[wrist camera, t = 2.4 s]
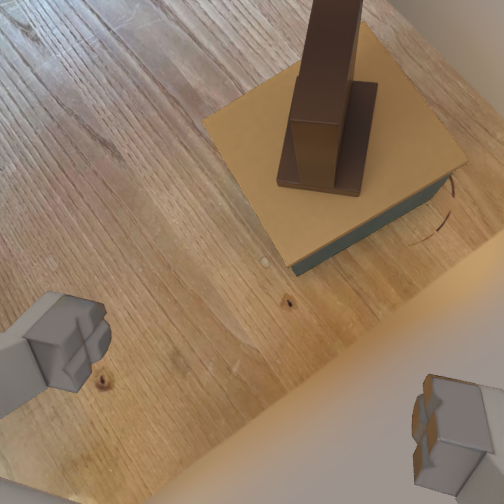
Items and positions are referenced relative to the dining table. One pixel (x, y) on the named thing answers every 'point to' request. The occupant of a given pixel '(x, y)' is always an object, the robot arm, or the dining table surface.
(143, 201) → the dining table surface
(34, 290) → the dining table surface
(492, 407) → the robot arm
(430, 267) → the dining table surface
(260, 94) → the toy box
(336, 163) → the brown upright sign stand
